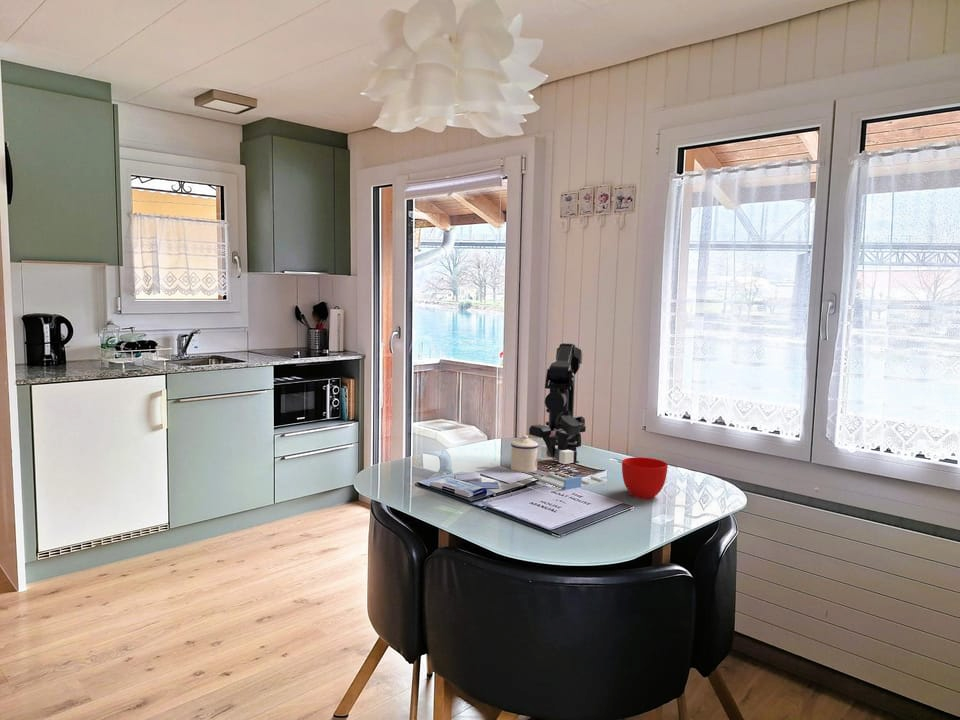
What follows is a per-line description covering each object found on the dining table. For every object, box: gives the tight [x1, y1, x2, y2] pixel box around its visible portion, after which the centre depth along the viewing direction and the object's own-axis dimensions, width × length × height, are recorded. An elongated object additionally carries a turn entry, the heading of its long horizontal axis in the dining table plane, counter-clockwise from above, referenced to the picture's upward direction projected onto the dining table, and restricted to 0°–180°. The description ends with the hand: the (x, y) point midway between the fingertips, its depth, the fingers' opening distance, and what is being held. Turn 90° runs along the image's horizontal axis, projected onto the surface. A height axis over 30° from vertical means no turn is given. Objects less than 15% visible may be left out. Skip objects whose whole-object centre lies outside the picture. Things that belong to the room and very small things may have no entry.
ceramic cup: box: [621, 456, 668, 500], centre depth 201 cm, size 13×17×10 cm
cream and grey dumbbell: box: [540, 444, 574, 465], centre depth 210 cm, size 11×4×4 cm, turn 35°
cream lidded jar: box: [510, 434, 539, 473], centre depth 226 cm, size 12×9×12 cm
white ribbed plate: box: [532, 469, 609, 492], centre depth 213 cm, size 15×22×3 cm
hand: (556, 456), depth 210 cm, fingers closed on cream and grey dumbbell, 3 cm apart
